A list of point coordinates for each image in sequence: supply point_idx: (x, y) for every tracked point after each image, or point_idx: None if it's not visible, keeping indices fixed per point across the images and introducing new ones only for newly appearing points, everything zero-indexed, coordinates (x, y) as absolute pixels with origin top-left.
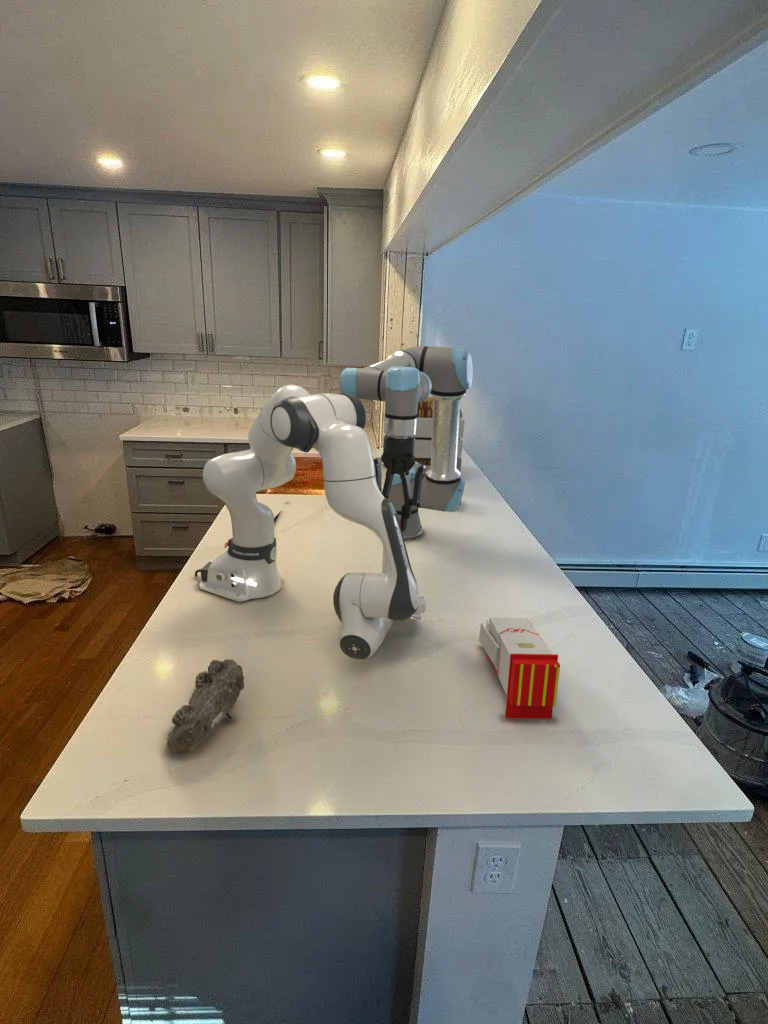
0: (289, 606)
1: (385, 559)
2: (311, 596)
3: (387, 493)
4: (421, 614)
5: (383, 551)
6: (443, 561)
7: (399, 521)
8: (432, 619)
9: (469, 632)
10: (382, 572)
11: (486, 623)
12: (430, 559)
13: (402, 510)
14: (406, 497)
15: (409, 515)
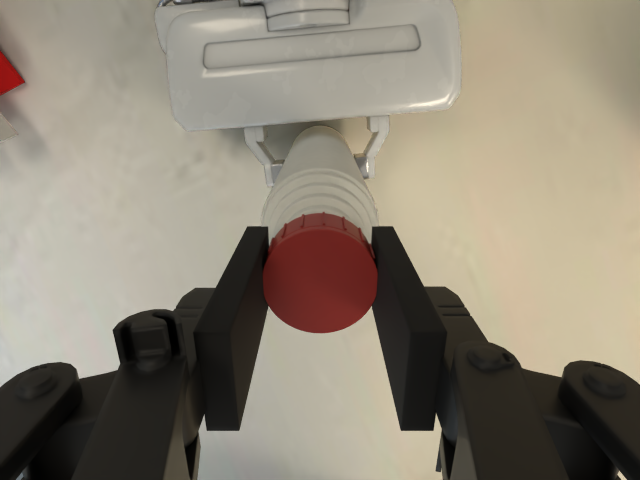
0: (614, 54)
1: (342, 159)
2: (564, 141)
3: (462, 470)
4: (157, 32)
5: (362, 179)
6: (288, 447)
7: (291, 296)
8: (203, 169)
9: (91, 147)
10: (353, 159)
11: (8, 137)
12: (321, 445)
13: (226, 307)
14: (124, 434)
15: (178, 306)
